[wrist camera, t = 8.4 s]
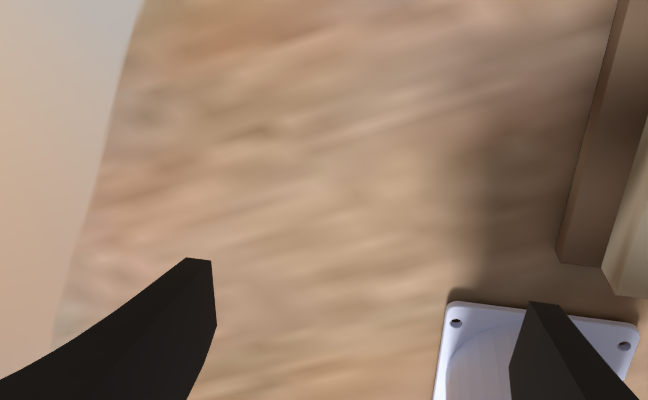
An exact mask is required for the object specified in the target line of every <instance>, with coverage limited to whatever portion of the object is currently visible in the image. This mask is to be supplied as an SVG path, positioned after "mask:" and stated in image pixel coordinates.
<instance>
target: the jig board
mask: <svg viewBox="0 0 648 400" xmlns="http://www.w3.org/2000/svg"><path fill="white" fill-rule="evenodd" d="M555 251H556V254H557V256H558V259H559V261H560V263H565V264H573V265H582V266H591V267H600V268H601V269H602V271H603V273H604V275H605V276H606V278H607V280H608V282H609V284H610V286H611V288H612V290H613V292H614V294H615V295H618V296H626V297H634V298H643V299H648V0H619V1H618V5H617V9H616V13H615V17H614V21H613V25H612V29H611V33H610V36H609V40H608V44H607V48H606V52H605V56H604V60H603V64H602V68H601V72H600V76H599V80H598V83H597V87H596V91H595V95H594V99H593V103H592V107H591V111H590V115H589V119H588V123H587V127H586V130H585V134H584V138H583V142H582V146H581V150H580V154H579V158H578V162H577V166H576V170H575V174H574V177H573V181H572V185H571V189H570V193H569V197H568V201H567V205H566V209H565V213H564V217H563V220H562V224H561V228H560V232H559V236H558V240H557V244H556V248H555Z"/></svg>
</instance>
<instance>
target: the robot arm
mask: <svg viewBox="0 0 648 400" xmlns="http://www.w3.org/2000/svg"><path fill="white" fill-rule="evenodd" d="M453 319H459V320H460V322H457V323H455V322H452V321H451V320H453ZM216 327H217V320H216V309H215V299H214V288H213V277H212V266H211V261H210V260H202V259H194V258H185V259H183V260H182V261H181V262H179V263H178V264H177V265H175V266H174V267H173V268H171V269H170V270H169V271H168V272H166V273H165V274H164V275H162V276H161V277H160V278H158V279H157V280H156V281H155V282H153V283H152V284H151V285H149V286H148V287H147V288H145V289H144V290H143V291H141V292H140V293H139V294H137V295H136V296H135V297H133V298H132V299H131V300H129V301H128V302H127V303H125V304H124V305H123V306H121V307H120V308H118V309H117V310H116V311H114V312H113V313H111V314H110V315H108V316H107V317H105V318H104V319H103V320H101V321H100V322H98V323H97V324H95V325H94V326H92V327H91V328H89V329H88V330H86V331H85V332H83V333H82V334H80V335H79V336H77V337H76V338H74V339H73V340H71V341H69V342H68V343H66V344H65V345H63V346H61V347H60V348H58V349H56V350H55V351H53V352H51V353H49V354H48V355H46V356H44V357H42V358H41V359H39V360H37V361H35V362H34V363H32V364H30V365H28V366H26V367H24V368H23V369H21V370H19V371H17V372H15V373H13V374H11V375H9V376H7V377H5V378H3V379H1V380H0V400H187V398H188V396H189V393H190V391H191V389H192V387H193V385H194V383H195V381H196V379H197V377H198V375H199V373H200V371H201V369H202V367H203V365H204V362H205V359H206V356H207V353H208V351H209V348H210V345H211V342H212V339H213V336H214V333H215V330H216ZM639 340H640V333H639V331H638V329H637V327H636V326H635V325H633V324H631V323H626V322H619V321H611V320H603V319H595V318H587V317H580V316H572V315H567V314H566V313H565V312H564V311H563V310H562V309H561V307H560V306H559V305H554V304H547V303H539V302H531V301H529V304H528V307H527V310H525V309H517V308H510V307H502V306H494V305H486V304H478V303H471V302H463V301H453V302H450V303H449V304H448V305H447V307H446V311H445V318H444V324H443V331H442V337H441V344H440V351H439V357H438V364H437V370H436V377H435V383H434V390H433V397H432V400H639V399H638V398H637V396H636V395H635V394H634V393H633V392H632V391H631V390H630V389H629V388H628V387H627V385H626V384H625V383H624V379H625V377H626V374H627V371H628V369H629V366H630V364H631V361H632V358H633V356H634V353H635V350H636V348H637V345H638V342H639ZM621 342H627V343H626V344H624V345H618V344H619V343H621Z"/></svg>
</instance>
